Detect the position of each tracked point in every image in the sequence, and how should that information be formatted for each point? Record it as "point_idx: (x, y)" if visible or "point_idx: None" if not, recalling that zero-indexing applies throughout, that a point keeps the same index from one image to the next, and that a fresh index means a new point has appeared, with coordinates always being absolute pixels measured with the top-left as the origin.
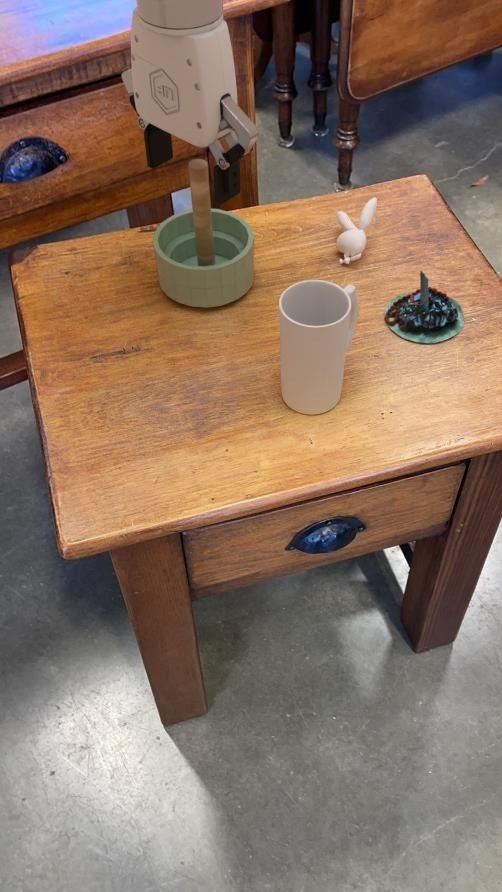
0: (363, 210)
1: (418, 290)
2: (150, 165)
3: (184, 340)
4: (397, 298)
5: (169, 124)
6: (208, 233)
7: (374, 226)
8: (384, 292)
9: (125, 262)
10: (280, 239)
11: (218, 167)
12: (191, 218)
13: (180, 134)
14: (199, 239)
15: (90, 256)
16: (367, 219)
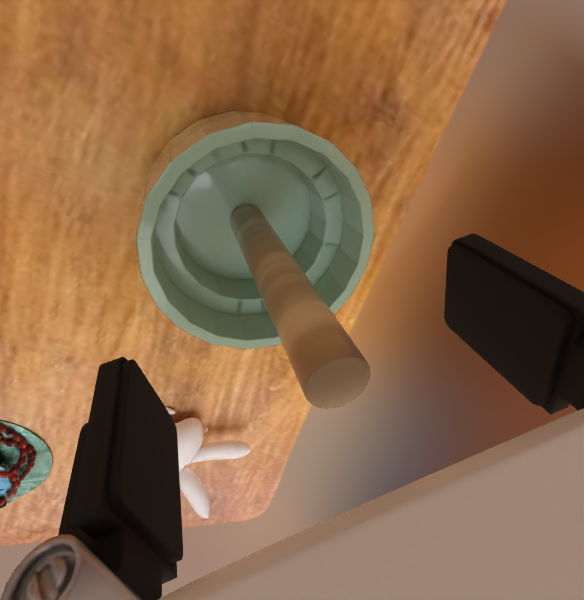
0: (197, 494)
1: (14, 486)
2: (465, 241)
3: (80, 62)
4: (43, 447)
5: (486, 593)
6: (250, 268)
7: (221, 462)
8: (69, 436)
9: (386, 101)
10: (270, 358)
11: (82, 525)
12: (350, 262)
13: (319, 595)
14: (257, 242)
15: (449, 43)
16: (182, 489)
